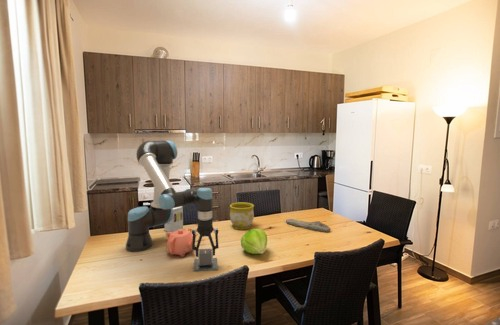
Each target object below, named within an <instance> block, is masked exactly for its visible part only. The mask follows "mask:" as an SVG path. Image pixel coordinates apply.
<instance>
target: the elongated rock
mask: <svg viewBox="0 0 500 325" xmlns="http://www.w3.org/2000/svg"><path fill="white" fill-rule="evenodd" d="M286 223H287V225H291V226H294V227H298V228H302V229H308V230H310V231H311V230H312V231H316V232H320V233H321V232H323V233H324V232H326V233H327V232H330V231H331V228H330V226H329V225H327V224H325V223H323V222H321V221H320V220H316V221H311V222H310V221H309V222H308V221H303V220H299V219H293V218H288V219H286V220H285V224H286Z"/></svg>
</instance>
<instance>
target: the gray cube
mask: <svg viewBox="0 0 500 325" xmlns="http://www.w3.org/2000/svg"><path fill="white" fill-rule="evenodd" d="M199 249H200V253H199V259H200V265H212V259H211V248H199Z"/></svg>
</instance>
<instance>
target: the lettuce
mask: <svg viewBox="0 0 500 325" xmlns="http://www.w3.org/2000/svg"><path fill="white" fill-rule="evenodd" d="M240 244H241V245H240V246H241V248H242V249H243V250H244V251H245V252H247V253H249V254H251V255H257V254H261V255H262V254H264V253H265V251H266V249H267V245H268V235H267V233H266V232H265V231H264V230H263V229H261V228H251V229H250V230H248V231H246V232H245V233H244V234H243V235H242V236H241V239H240Z"/></svg>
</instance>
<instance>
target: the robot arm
mask: <svg viewBox="0 0 500 325" xmlns="http://www.w3.org/2000/svg"><path fill="white" fill-rule="evenodd" d="M135 156H136V159H137V162H138V164H139V165H140V166H141V167H143V169H144V170H145V172H146V174H147V176H148V177H149V179H150V181H151V182H152V184H153V200H152V202H150V207H148V206H137V207H135V208H132V209H129V211H128V212H127V228H128V231H127V233H128V236H127V240H126V242H125V250H126V251H128V252H142V251H145V250H146V251H147V250H148V249H151V248H152V247H153V244H154V243H153V241H154V240H153V239H152V236H151V234H150V228H154V227H157V226H161V225H165V223H168V222H170V221H171V220H172V218H173V208H176V207H185V206H191V205H195V206H197V228H196V229H192V231H191V234H192V236H193V242H192V250H191V251H195V257H197V259H198V263H200V259H199V253H200V249H201V248H200V246H201V242H202V239H203V237H207V238H208V240H209V242H210V245H211V248H210V249H211V259H212V262H213V258H214V256H216V249H219V236H218V234H219V228H214V226H213V223H214V222H213V189H212V188H211V187H200V188H198V189H194V188H186V189H185V190H183V191H182V190H181V191H176V190H175V188H174V187H173V185H172V183H171V182H170V172H171V170H170V169H171V168H170V167H171V165H172V164H173V163H174V162H173V161H174V160H175V159H176V158H177V157H178V149H177V146H176V144H175V142H173V140H163V139H162V140H161V139H160V140H146V141H143V142H141V144H139V146H138V148H137V150H136V155H135ZM212 233H214V235H215V236H214V237H215V238H214V239H215V243H214V240H213V237H212ZM195 234H198V235H199V237H198V240H197V244H196V239H195Z"/></svg>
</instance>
